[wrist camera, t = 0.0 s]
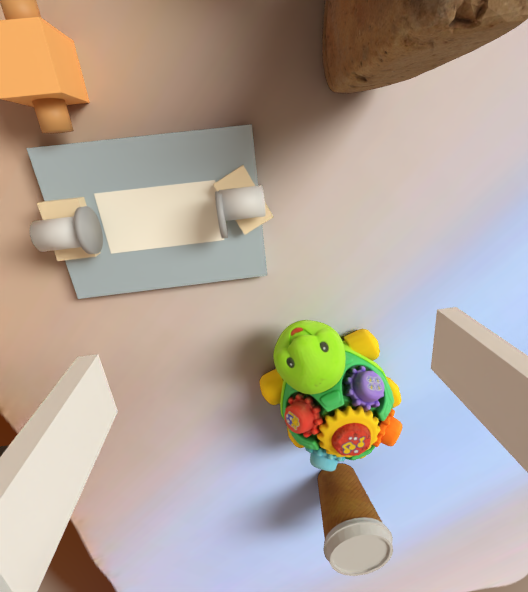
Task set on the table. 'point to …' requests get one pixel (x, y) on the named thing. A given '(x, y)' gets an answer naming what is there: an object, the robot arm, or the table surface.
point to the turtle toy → (332, 393)
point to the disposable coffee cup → (351, 524)
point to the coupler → (39, 66)
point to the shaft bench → (152, 210)
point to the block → (406, 37)
